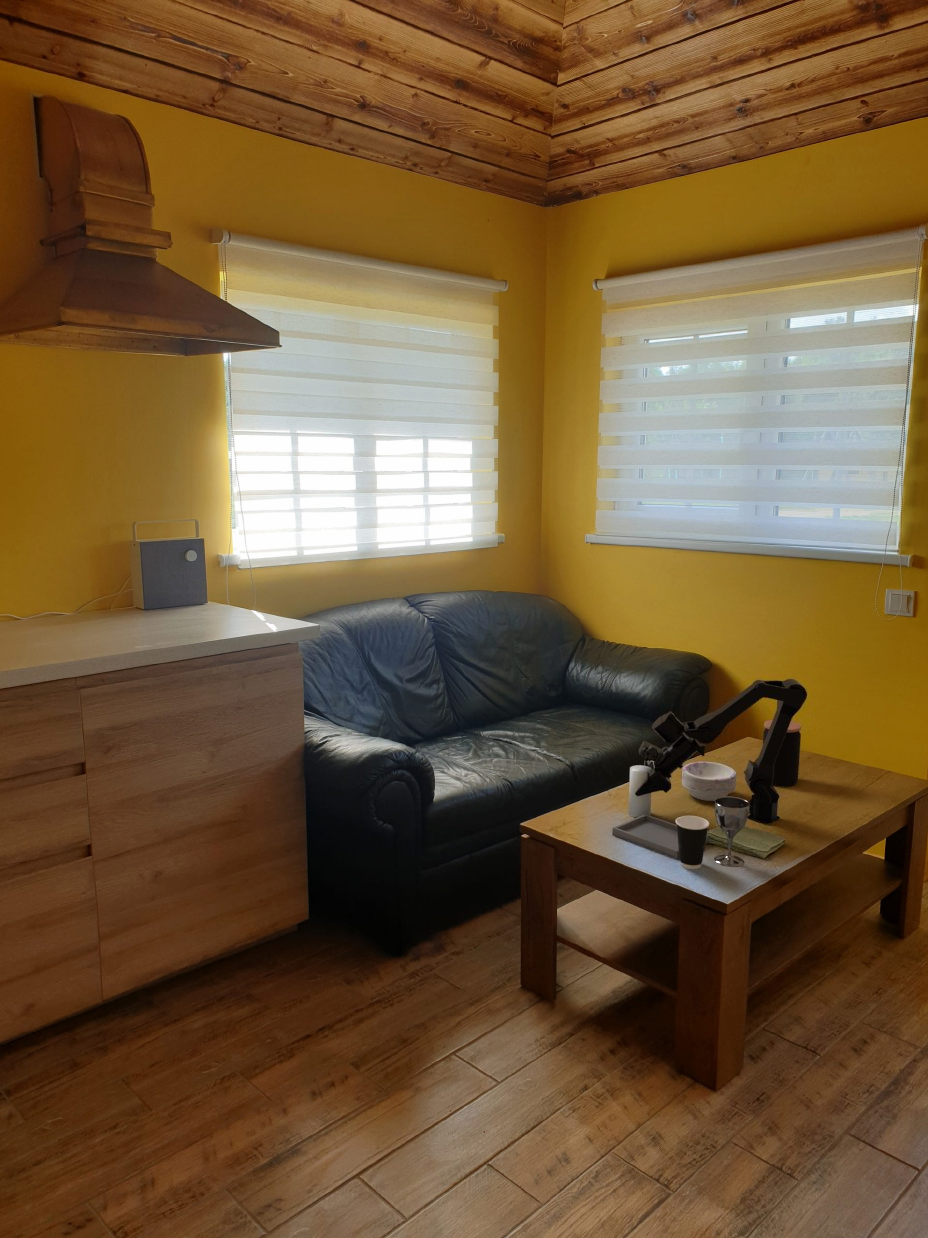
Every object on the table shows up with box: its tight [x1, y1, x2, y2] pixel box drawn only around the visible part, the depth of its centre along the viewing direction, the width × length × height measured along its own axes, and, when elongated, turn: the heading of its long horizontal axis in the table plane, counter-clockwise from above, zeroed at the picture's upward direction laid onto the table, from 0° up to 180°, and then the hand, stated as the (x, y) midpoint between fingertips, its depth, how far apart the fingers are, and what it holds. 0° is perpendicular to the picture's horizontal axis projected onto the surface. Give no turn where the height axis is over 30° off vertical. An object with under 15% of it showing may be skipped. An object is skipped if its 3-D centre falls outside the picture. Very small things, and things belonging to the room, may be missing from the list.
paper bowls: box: [681, 761, 737, 802], centre depth 268 cm, size 15×15×8 cm
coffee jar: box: [762, 719, 802, 788], centre depth 279 cm, size 11×11×18 cm
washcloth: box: [707, 824, 787, 860], centre depth 236 cm, size 13×18×3 cm
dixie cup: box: [675, 815, 710, 870], centre depth 223 cm, size 8×8×11 cm
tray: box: [611, 814, 710, 860], centre depth 238 cm, size 20×14×2 cm
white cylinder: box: [628, 764, 652, 818], centre depth 254 cm, size 6×6×13 cm
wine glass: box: [713, 795, 750, 868], centre depth 225 cm, size 8×8×15 cm
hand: (635, 791), depth 254 cm, fingers closed on white cylinder, 6 cm apart
